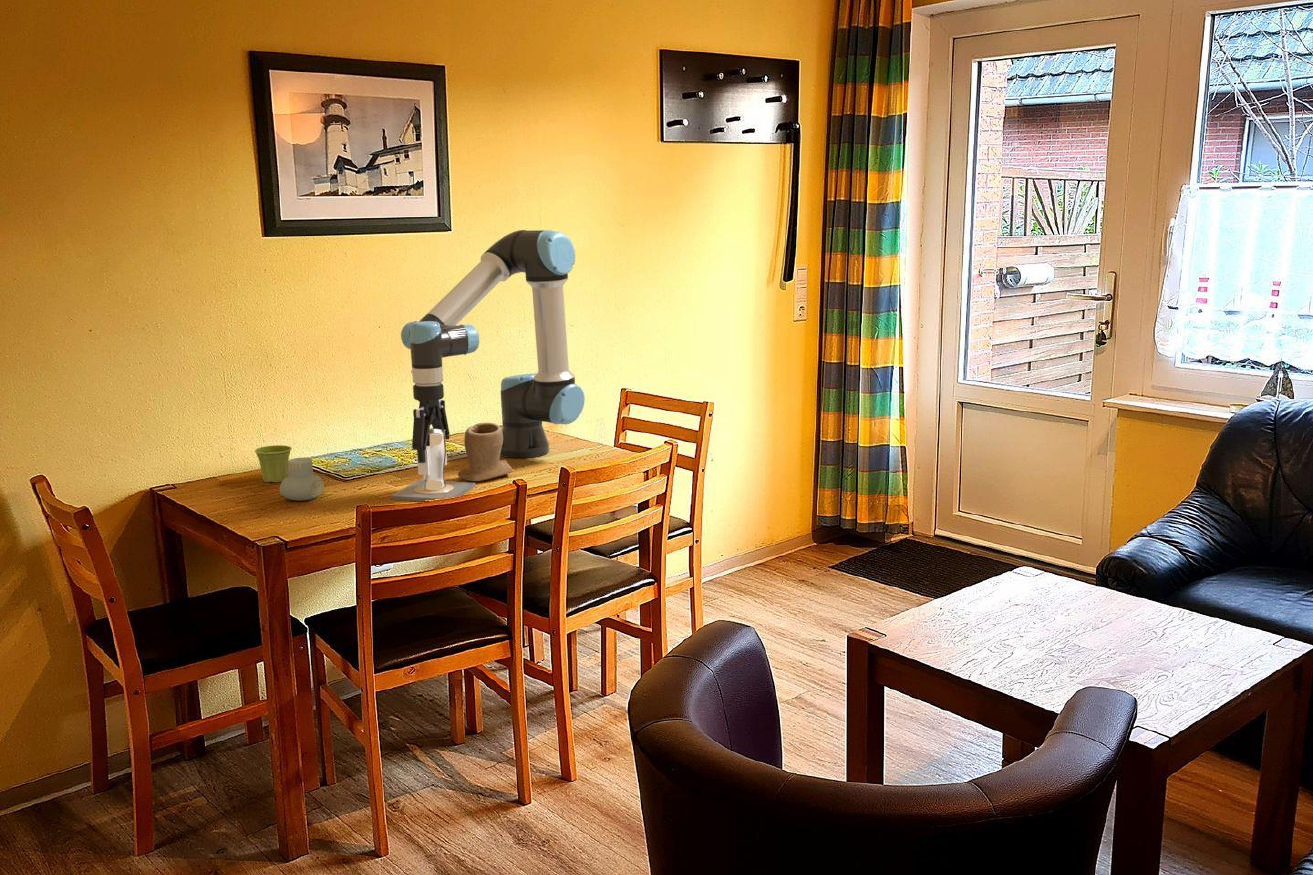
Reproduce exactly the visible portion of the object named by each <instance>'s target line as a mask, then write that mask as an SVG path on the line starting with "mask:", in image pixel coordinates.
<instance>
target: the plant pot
mask: <svg viewBox="0 0 1313 875" xmlns="http://www.w3.org/2000/svg"><path fill="white" fill-rule="evenodd" d="M292 449H293V448H292V446H289V445H283V444H282V445H281V444H278V445H277V444H276V445H265V446H260V447H257V448H255V449H254V452H255V453H256V456H257V459H258V461H259V467H260V470H261V474H262V479H263V482H266V483H270V482H273V483H280V482H281V483H282V481H283V480H284V479H285V478H287V477H288V476H289V474H288V461H289V460H290V455H291V450H292Z"/></svg>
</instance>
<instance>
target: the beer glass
mask: <svg viewBox="0 0 1313 875" xmlns="http://www.w3.org/2000/svg"><path fill="white" fill-rule="evenodd" d="M446 442H447V441H446V439H445V432H444V430H443V429H438V428H433V427H432V428H431V427H430V429H429V435H428V441H427V447H426V449H428V454H429V472H430V475H422V480H423V483H422V489H423V490H426V491H438V490H443V489H445V488H446V483H445V481H446V480H445V466H446V465H445V458H446V456H447V443H446Z"/></svg>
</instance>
